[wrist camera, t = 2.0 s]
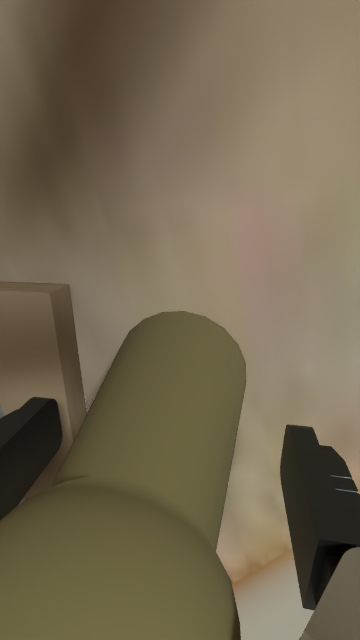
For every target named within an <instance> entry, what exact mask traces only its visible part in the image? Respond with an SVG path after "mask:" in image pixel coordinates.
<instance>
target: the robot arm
mask: <svg viewBox="0 0 360 640" xmlns="http://www.w3.org/2000/svg"><path fill="white" fill-rule="evenodd" d="M62 437H63V433H62V426H61V420H60V414H59V408H58V403H57V401H56V400H55V399H52V398H42V397H32V398H31V399H29V400H28V401H27V402H26V403H25V404H24V405H23V406H22V407H20V408H19V409H16V410H15V411H13V412H11V413H9V414H7V415H5V416H4V417H2V418H0V520H1V519H2V518H3V517H5V516H6V515H7V514H8V513H9V512H10V511H11V510H13V509H14V508H15V507H17V506H18V504H19V503H20V502H21V500H22V499H23V498H24V496H25V495H26V493H27V492H28V491H29V489H30V488H31V487H32V485H33V484H34V483H35V481H36V480H37V479H38V477H39V476H40V475H41V473H42V472H43V471H44V469H45V468H46V467H47V465H48V464H49V463H50V461H51V460H52V459H53V457H54V456H55V454H56V453H57V452H58V450H59V448H60V446H61V443H62ZM280 476H281V485H282V491H283V496H284V502H285V508H286V514H287V519H288V525H289V531H290V536H291V542H292V548H293V553H294V559H295V565H296V571H297V576H298V582H299V588H300V594H301V599H302V605H303V608H305V609H311V610H315V611H314V613H313V614H312V616H311V618H310V621H309V623H308V624H307V626H306V628H305V630H304V632H303V634H302V636H301V637H300V639H299V640H360V494H358V489H357V487H356V485H355V483H354V481H353V480H352V476H351V474H350V472H349V469H348V467H347V465H346V463H345V461H344V460H343V459H342V457H341V456H340V455H339V454H338V453H337V452H336V451H335V450H334V449H333V448H332V447H330V446H322V445H319V443H318V440H317V437H316V434H315V432H314V429H313V428H312V427H307V426H297V425H288V424H287V426H286V429H285V435H284V442H283V449H282V456H281V465H280Z"/></svg>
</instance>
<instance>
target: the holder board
mask: <svg viewBox="0 0 360 640" xmlns="http://www.w3.org/2000/svg"><path fill="white" fill-rule="evenodd" d="M32 397H42V398H52V399H55V400H56V401H57V403H58V408H59V414H60V420H61V426H62V433H63V437H62V443H61V446H60V448H59V450H58V452H57V453H56V454H55V456H54V457H53V459H52V460H51V461H50V463H49V464H48V465H47V467H46V468H45V469H44V471H43V472H42V473H41V475H40V476H39V477H38V479H37V480H36V481H35V483H34V484H33V485H32V487H31V488H30V489H29V491H28V492H27V493H26V495H25V496H24V498H23V499H22V500H21V502H20V503H19V504H18V505H20V504H21V503H23V502H24V501H26V500H27V499H29V498H30V497H32V496H33V495H35V494H36V493H38V492H41V491H43V490H46V489H48V488H51V486H52V484H53V482H54V480H55V478H56V476H57V474H58V472H59V470H60V468H61V466H62V464H63V462H64V460H65V458H66V456H67V454H68V452H69V450H70V448H71V446H72V444H73V442H74V440H75V438H76V436H77V434H78V432H79V430H80V428H81V426H82V424H83V422H84V420H85V418H86V408H85V401H84V393H83V386H82V378H81V370H80V363H79V355H78V348H77V340H76V333H75V325H74V318H73V310H72V302H71V295H70V287H69V284H45V283H19V282H0V418H2V417H4V416H5V415H7V414H9V413H11V412H13V411H15V410H16V409H19V408H20V407H22V406H23V405H24V404H25V403H26V402H27V401H28V400H29V399H31V398H32Z"/></svg>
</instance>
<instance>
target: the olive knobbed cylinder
mask: <svg viewBox="0 0 360 640" xmlns="http://www.w3.org/2000/svg"><path fill="white" fill-rule="evenodd" d="M245 386H246V363H245V360H244V358H243V355H242V353H241V350H240V348H239V345H238V344H237V343H236V341H235V340H234V339H233V338H232V337H231V336H230V334H229V333H228V332H227V331H226V330H225V329H224V328H223V327H221V326H220V325H218V324H216V323H215V322H213V321H211V320H210V319H208V318H207V317H204V316H200V315H197V314H193V313H189V312H185V311H178V312H162V313H159V314H157V315H154V316H151V317H149V318H146V319H144V320H142V321H141V322H140V323H139V324H138V325H137V326H135V327H134V328H133V329H132V330H131V331H129V333H128V335H127V337H126V339H125V340H124V342H123V344H122V346H121V347H120V349H119V351H118V353H117V355H116V357H115V360H114V362H113V364H112V366H111V368H110V370H109V372H108V374H107V376H106V378H105V380H104V382H103V384H102V386H101V388H100V390H99V392H98V394H97V396H96V398H95V400H94V402H93V404H92V406H91V408H90V410H89V412H88V414H87V416H86V418H85V420H84V422H83V424H82V426H81V428H80V430H79V432H78V434H77V436H76V438H75V440H74V442H73V444H72V446H71V448H70V450H69V452H68V454H67V456H66V458H65V460H64V462H63V464H62V466H61V468H60V470H59V472H58V474H57V476H56V478H55V480H54V482H53V484H52V486H51V488H48V489H46V490H43V491H41V492H38V493H36V494H35V495H33V496H32V497H30V498H29V499H27V500H26V501H24V502H23V503H21V504H20V505H18V506H17V507H15V508H14V509H13V510H11V511H10V512H9V513H8V514H7V515H6V516H5V517H3V518H2V519H1V520H0V640H241V636H240V622H239V617H238V612H237V607H236V602H235V597H234V593H233V588H232V583H231V580H230V578H229V576H228V574H227V572H226V570H225V568H224V566H223V565H222V563H221V561H220V559H219V557H218V555H217V553H216V548H217V543H218V537H219V531H220V526H221V520H222V515H223V509H224V503H225V498H226V492H227V487H228V481H229V475H230V470H231V464H232V459H233V453H234V447H235V442H236V436H237V431H238V425H239V419H240V414H241V408H242V403H243V397H244V391H245Z"/></svg>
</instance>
